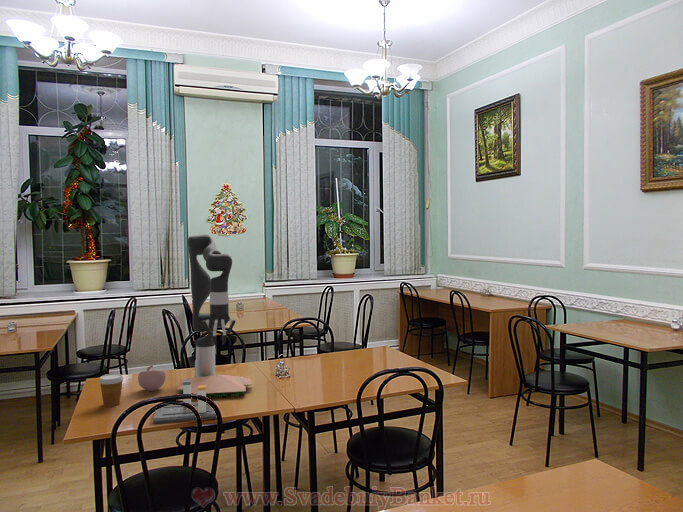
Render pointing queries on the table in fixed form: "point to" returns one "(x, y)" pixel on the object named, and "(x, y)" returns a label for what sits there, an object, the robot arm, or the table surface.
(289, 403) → the table surface
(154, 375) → the pink apple
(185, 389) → the white fader
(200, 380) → the pink cutting board
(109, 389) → the disposable coffee cup
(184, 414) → the console
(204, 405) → the orange fader
